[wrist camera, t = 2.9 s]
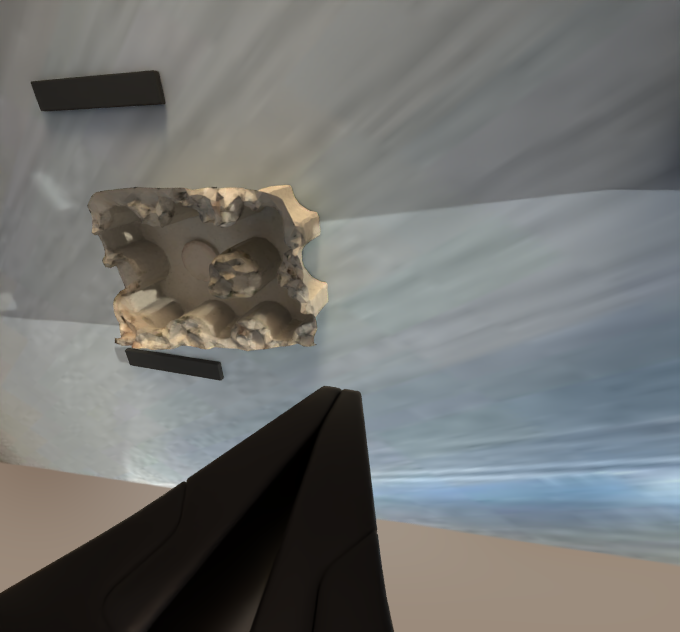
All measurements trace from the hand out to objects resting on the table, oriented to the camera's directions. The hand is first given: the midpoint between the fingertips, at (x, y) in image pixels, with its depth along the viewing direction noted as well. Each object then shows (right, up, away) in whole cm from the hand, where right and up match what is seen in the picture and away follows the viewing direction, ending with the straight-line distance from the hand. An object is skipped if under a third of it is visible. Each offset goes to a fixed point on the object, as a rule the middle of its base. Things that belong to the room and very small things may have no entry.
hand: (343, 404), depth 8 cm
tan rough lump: (-6, +5, +10) cm, 13 cm away
